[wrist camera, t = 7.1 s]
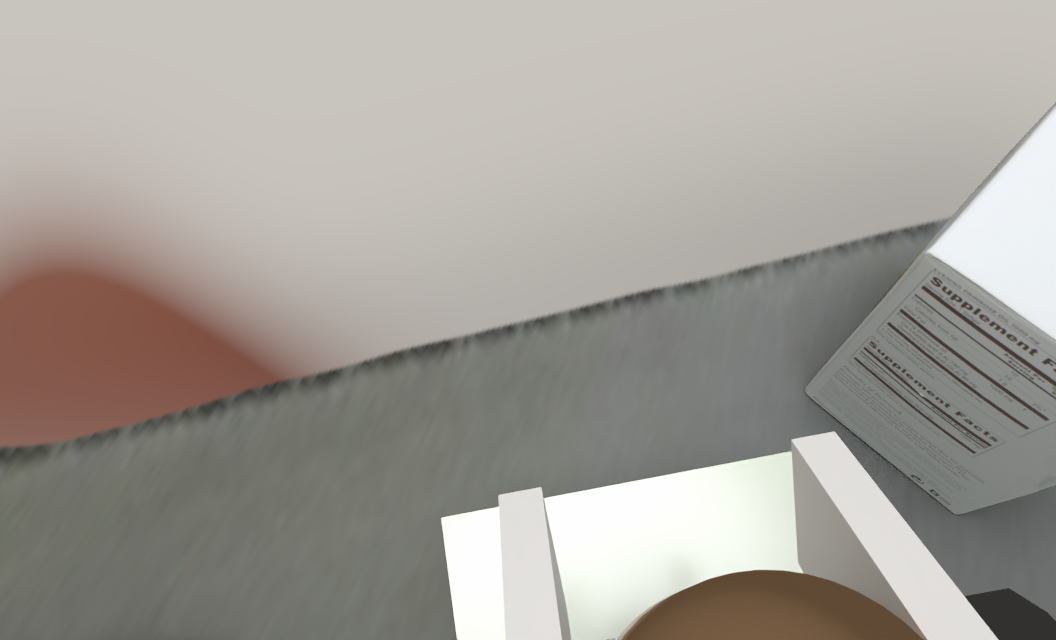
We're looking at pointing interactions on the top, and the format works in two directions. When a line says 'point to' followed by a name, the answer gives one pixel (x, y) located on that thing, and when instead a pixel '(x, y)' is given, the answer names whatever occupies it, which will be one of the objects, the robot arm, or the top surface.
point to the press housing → (633, 544)
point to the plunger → (767, 611)
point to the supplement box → (966, 345)
